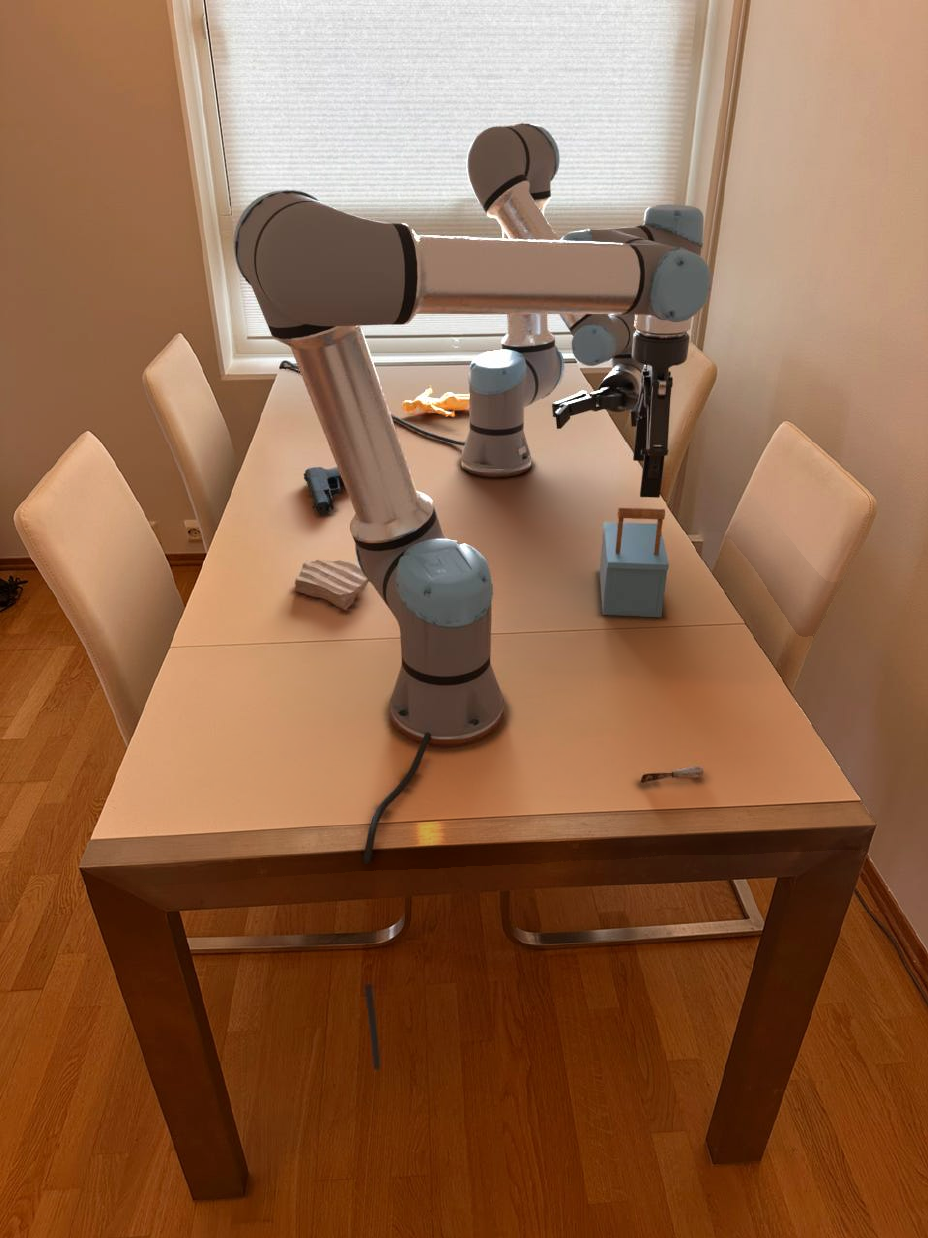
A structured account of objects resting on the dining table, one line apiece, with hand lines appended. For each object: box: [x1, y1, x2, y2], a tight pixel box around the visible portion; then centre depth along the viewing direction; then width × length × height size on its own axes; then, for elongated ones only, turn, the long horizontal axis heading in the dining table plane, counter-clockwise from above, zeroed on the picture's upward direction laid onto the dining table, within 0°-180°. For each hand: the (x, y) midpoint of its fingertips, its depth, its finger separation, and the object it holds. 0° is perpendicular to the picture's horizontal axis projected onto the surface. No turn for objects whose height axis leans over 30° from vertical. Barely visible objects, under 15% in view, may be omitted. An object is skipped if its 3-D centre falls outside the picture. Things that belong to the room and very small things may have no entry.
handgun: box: [303, 466, 346, 515], centre depth 181 cm, size 3×18×12 cm
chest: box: [599, 527, 668, 618], centre depth 145 cm, size 14×9×9 cm
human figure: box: [402, 385, 469, 418], centre depth 225 cm, size 20×20×4 cm
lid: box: [603, 507, 670, 571], centre depth 140 cm, size 14×9×9 cm, turn 175°
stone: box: [294, 559, 370, 611], centre depth 149 cm, size 13×12×3 cm
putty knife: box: [640, 765, 705, 784], centre depth 109 cm, size 1×8×2 cm, turn 103°
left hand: (645, 477), depth 132 cm, fingers open, 13 cm apart
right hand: (595, 420), depth 158 cm, fingers open, 13 cm apart
